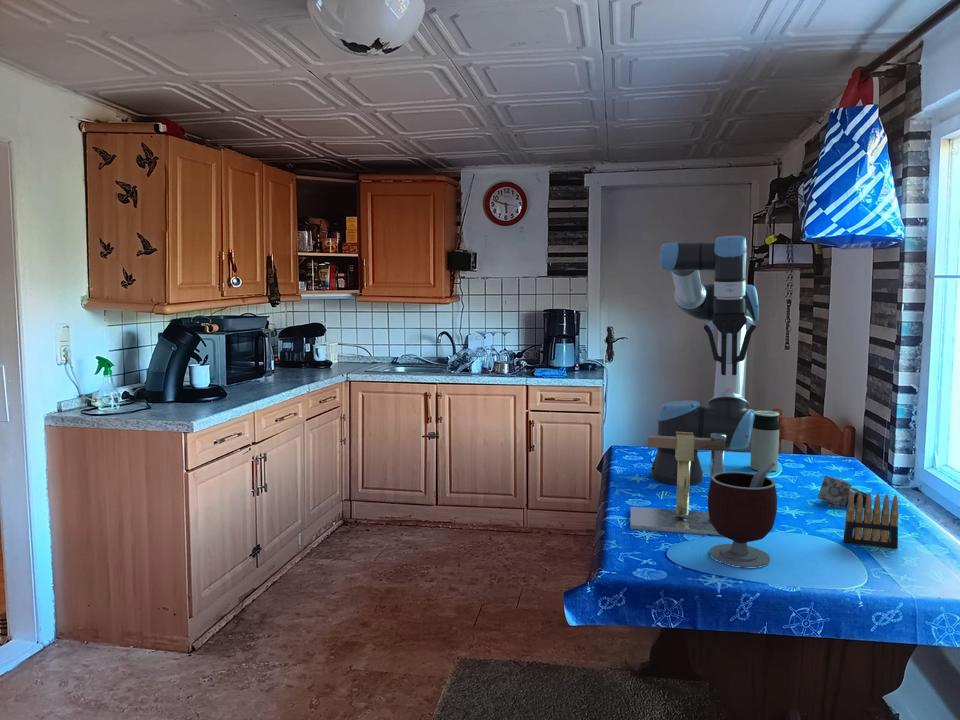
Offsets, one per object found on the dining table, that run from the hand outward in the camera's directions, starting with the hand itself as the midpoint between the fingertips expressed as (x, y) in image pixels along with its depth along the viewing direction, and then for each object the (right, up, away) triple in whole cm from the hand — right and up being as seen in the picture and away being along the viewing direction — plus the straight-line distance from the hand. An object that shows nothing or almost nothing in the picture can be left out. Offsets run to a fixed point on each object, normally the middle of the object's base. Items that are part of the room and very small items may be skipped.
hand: (728, 386), depth 188 cm
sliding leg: (-15, -31, -12) cm, 37 cm away
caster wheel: (+33, -32, +4) cm, 46 cm away
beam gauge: (-16, -33, -12) cm, 38 cm away
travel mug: (+24, -28, +38) cm, 53 cm away
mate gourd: (-9, -36, -33) cm, 49 cm away
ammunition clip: (+23, -35, -26) cm, 49 cm away
